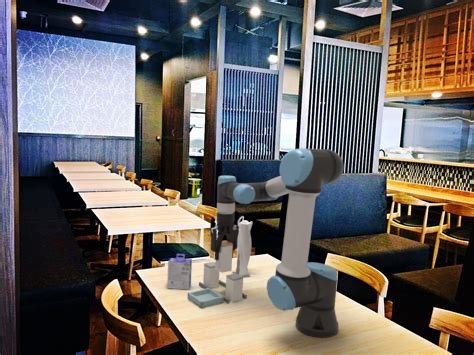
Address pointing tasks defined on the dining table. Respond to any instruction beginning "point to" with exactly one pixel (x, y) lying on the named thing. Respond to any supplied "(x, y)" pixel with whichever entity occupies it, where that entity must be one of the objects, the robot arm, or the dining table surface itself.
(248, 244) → the skyscraper
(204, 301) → the tray
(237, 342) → the dining table surface
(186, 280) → the ink cartridge box
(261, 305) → the dining table surface
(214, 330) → the dining table surface
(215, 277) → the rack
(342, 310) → the dining table surface
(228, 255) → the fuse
